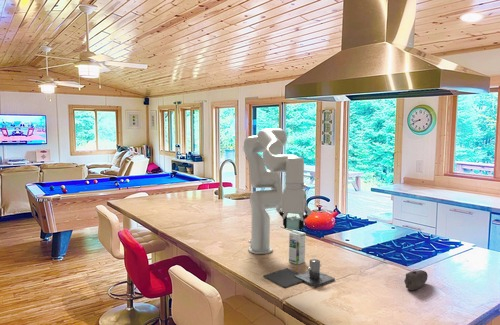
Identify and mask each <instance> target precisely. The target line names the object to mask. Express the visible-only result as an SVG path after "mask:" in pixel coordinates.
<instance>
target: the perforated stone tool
mask: <svg viewBox="0 0 500 325" xmlns="http://www.w3.org/2000/svg"><path fill="white" fill-rule="evenodd" d="M427 280H428V272H427V271H425V270H423V269H422V270H421V269H420V270H418V269H417V270H413V271H409V272H407V273H405V278H404V281H403V282H404V285H405V288H406V289H407V290H409V291H411V292H413V291H416V290H419V289H420V288H421V287H423V286H424V285H425V284H426V282H427Z"/></svg>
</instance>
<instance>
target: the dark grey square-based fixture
mask: <svg viewBox="0 0 500 325" xmlns="http://www.w3.org/2000/svg"><path fill="white" fill-rule="evenodd" d="M321 267H322V263H321V260H319V259H315V258H312V259H310V260H309V265H308V267H307V271H304V272H301V273H299V274H298V275H295V276H294V277H296V278H298V279H300V280H303V282H302V283H304V284H306V285H308V286H310V287H311V288H318V287H321V286H323V285H327V284H328V283H329V284H330V283H331V282H334V281H336V279H335V277H333V276H331V275H328V274H326V273H325V272H324V273H323V272H321Z"/></svg>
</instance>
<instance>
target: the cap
mask: <svg viewBox="0 0 500 325" xmlns="http://www.w3.org/2000/svg"><path fill="white" fill-rule="evenodd" d="M299 222H300V217H299V216H297V214H294V215H293V216H288V217H287V218H286V228H285V229H287V230H290V231H298V230H299Z"/></svg>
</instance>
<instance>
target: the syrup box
mask: <svg viewBox="0 0 500 325" xmlns="http://www.w3.org/2000/svg"><path fill="white" fill-rule="evenodd" d="M288 235H289V236H288V237H289V238H288V239H289V240H288V262H289V263H290V264H291V263H292V264H293V265H294V264H295V265H298V266H299V265H300V264H303V263H305V262H306V232H302V231H298V230H292V231H291V232H289V234H288Z"/></svg>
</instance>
